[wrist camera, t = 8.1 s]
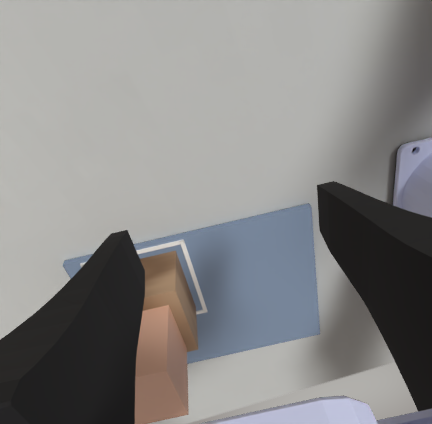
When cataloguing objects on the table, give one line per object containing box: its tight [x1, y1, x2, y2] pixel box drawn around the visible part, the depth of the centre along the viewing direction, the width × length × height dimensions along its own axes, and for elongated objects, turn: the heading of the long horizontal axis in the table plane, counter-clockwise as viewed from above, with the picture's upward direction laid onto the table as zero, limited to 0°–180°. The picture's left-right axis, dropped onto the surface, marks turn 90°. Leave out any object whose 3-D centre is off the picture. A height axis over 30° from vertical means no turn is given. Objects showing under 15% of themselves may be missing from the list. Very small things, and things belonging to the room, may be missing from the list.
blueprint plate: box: [63, 204, 320, 364], centre depth 27 cm, size 18×14×1 cm
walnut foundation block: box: [140, 251, 198, 352], centre depth 24 cm, size 6×6×4 cm
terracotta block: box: [135, 305, 188, 424], centre depth 20 cm, size 4×4×4 cm
